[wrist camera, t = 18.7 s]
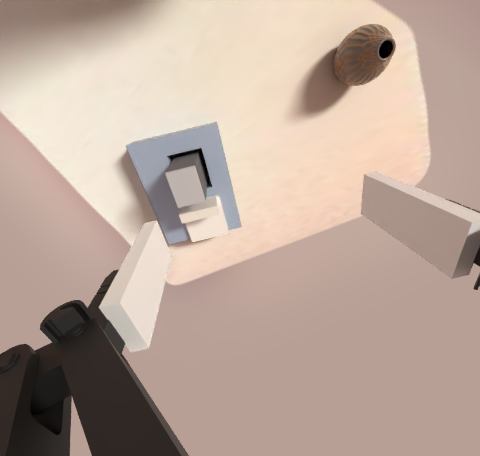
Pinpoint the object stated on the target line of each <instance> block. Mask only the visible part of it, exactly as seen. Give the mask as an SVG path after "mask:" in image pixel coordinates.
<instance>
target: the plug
mask: <svg viewBox="0 0 480 456" xmlns="http://www.w3.org/2000/svg"><path fill="white" fill-rule="evenodd" d="M165 172H166V174H165V175H166V177H167V180H168V182H169V185H170V188H171V190H172V193H173V196H174V198H175V201H176V204H177V206H178V208H180V207H184V206H188V205H193V204H197V203H201V202H205V200H206V193H207V176H206V172H205V169H204V165H203V162H202V159H201V155H200V152H199V150H195V151H191V152H187V153H183V154H178V155H176V156H175V158H174V159H173V161H172V162H171V164H170V165H169V167H168V168H167V170H166V171H165Z"/></svg>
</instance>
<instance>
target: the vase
mask: <svg viewBox="0 0 480 456" xmlns="http://www.w3.org/2000/svg"><path fill="white" fill-rule="evenodd" d="M395 47H396V44H395V41H394V39H393V38H392V35H391V33H390V32H389V30H388V29H387V28H385V27H383V26H381V25H377V24H368V25H364V26H361V27H359V28H357V29H355V30H354V31H352V32H351V33H350V34H348V35H347V36H346V37H345V38H344V40H343V41H342V42H341V44H340V45H339V47H338V49H337V51H336V54H335V57H334V71H335V74H336V76H337V78H338V79H339V80H340V81H341V82H343V83H344V84H347V85H350V86H358V85H363V84H366V83H368V82H370V81H372V80H374V79H375V78H376V77H378V76H379V75H380V74H381V73H382V72H383V71H384V70H385V68H386V67H387V65H388V64H389V62H390V60H391V57H392V55H393V54H394V51H395Z"/></svg>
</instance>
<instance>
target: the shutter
mask: <svg viewBox="0 0 480 456" xmlns="http://www.w3.org/2000/svg"><path fill="white" fill-rule="evenodd" d="M179 217H180V220H181V222H182V223H185V224H186V227H187V229H188V232H189V235H190V237H191V240H192V242H196V241H200V240H204V239H208V238H212V237H216V236H220V235H225V234H229V229H228V226H227V222H226V218H225V215H224V211H223V207H222V204H221V200H220V196H219V194H218V195H214V196H210V197H206V200H205V202H201V203H197V204H193V205H188V206H184V207H180V213H179Z"/></svg>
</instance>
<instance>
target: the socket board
mask: <svg viewBox="0 0 480 456" xmlns="http://www.w3.org/2000/svg"><path fill="white" fill-rule="evenodd" d="M126 148H127V150H128V152H129V155H130V157H131V159H132V162H133V164H134V166H135V168H136V171H137V173H138V175H139V178H140V180H141V182H142V184H143V187H144V189H145V191H146V193H147V196H148V198H149V200H150V203H151V205H152V207H153V209H154V212H155V214H156V216H157V219H158V221H159V223H160V225H161V228H162V230H163V232H164V235H165V237H166V239H167V241H168V244H173V243H177V242H182V241H186V240H190V239H191V237H190V235H189V232H188V229H187V227H186V224H185V223H182V222H181V220H180V217H179V213H180V208H178V206H177V204H176V201H175V198H174V196H173V193H172V190H171V188H170V185H169V182H168V180H167V177H166V175H165V174H166V172H165V171H166V170H167V168H168V167H169V165H170V164H171V162H172V161H173V157H172V155H174V154H178V153H182V152H186V151H190V150H194V149H198V148H202V152H203V155H204V159H205V162H206V166H207V170H208V173H209V177H210V180H211V181H207V193H206V197H210V196H214V195H218V194H219V196H220V200H221V204H222V207H223V211H224V215H225V218H226V222H227V226H228V229H229V230H231V229H235V228H239V227H242V226H241V222H240V218H239V213H238V209H237V205H236V201H235V197H234V192H233V188H232V184H231V180H230V175H229V171H228V167H227V163H226V158H225V154H224V150H223V146H222V141H221V137H220V133H219V129H218V125H217V122H215V123H210V124H206V125H202V126H198V127H194V128H190V129H186V130H181V131H177V132H173V133H169V134H165V135H161V136H157V137H152V138H148V139H144V140H140V141H136V142H133V143H131V144H128V145H126Z"/></svg>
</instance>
